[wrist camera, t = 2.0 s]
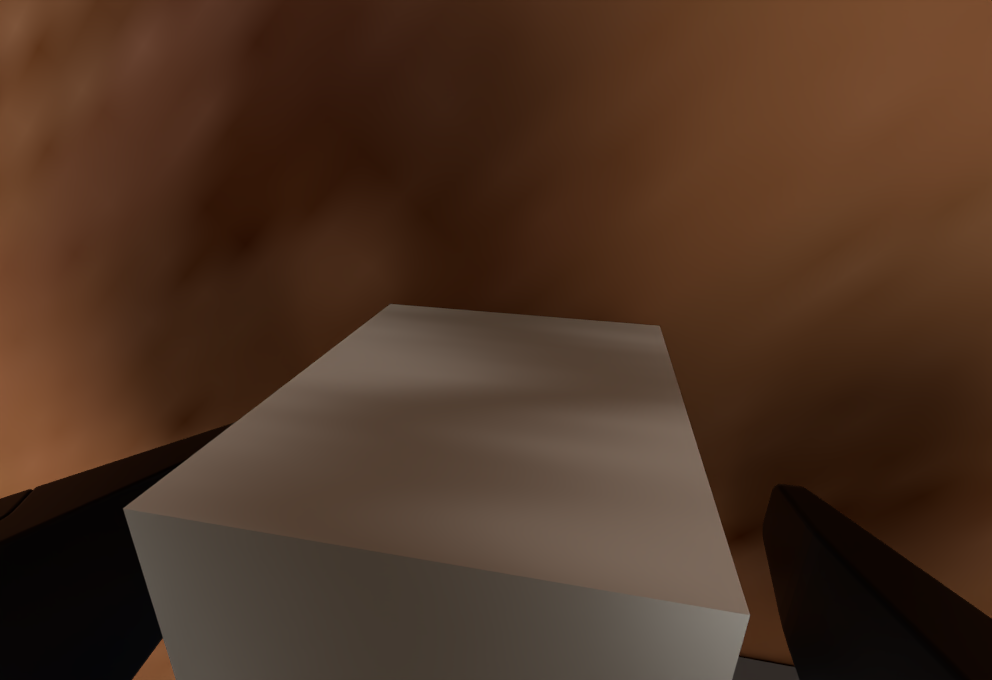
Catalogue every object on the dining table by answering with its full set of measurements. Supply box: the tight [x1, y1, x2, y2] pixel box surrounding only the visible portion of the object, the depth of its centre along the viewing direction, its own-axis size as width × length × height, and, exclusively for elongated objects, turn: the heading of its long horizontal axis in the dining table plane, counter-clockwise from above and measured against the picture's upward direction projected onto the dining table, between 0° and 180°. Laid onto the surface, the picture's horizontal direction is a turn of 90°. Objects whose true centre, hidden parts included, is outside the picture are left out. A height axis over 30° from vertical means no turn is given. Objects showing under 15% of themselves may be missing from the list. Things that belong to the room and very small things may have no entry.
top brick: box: [123, 304, 750, 680], centre depth 8 cm, size 5×5×6 cm
